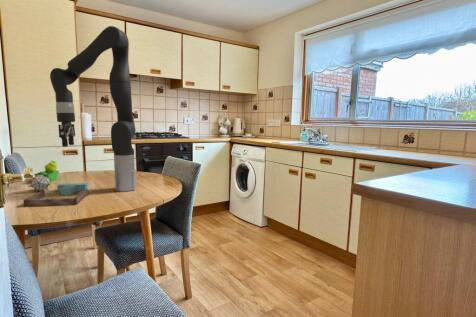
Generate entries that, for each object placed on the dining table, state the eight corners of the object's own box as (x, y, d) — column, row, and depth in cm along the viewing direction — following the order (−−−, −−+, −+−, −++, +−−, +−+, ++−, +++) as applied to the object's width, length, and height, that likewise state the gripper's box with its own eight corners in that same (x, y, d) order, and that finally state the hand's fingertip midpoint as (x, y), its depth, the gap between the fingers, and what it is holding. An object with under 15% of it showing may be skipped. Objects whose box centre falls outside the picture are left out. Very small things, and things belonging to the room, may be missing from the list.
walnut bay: (88, 194, 130) (88, 189, 129) (76, 204, 115) (76, 198, 115) (42, 196, 126) (41, 190, 126) (23, 206, 111) (23, 200, 111)
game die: (38, 199, 133) (21, 185, 127) (40, 189, 140) (24, 175, 134) (56, 189, 135) (40, 175, 128) (57, 180, 141) (42, 165, 135)
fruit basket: (45, 179, 159) (44, 159, 158) (62, 179, 160) (61, 159, 159) (33, 184, 148) (31, 162, 146) (51, 184, 149) (50, 162, 147)
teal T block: (87, 188, 140) (87, 182, 140) (80, 194, 129) (80, 188, 129) (60, 189, 138) (60, 183, 137) (51, 195, 127) (50, 188, 127)
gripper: (68, 111, 131) (71, 147, 133) (78, 112, 145) (81, 144, 147) (50, 111, 129) (53, 147, 131) (62, 112, 143) (65, 144, 145)
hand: (68, 145), depth 139 cm, fingers open, 8 cm apart
